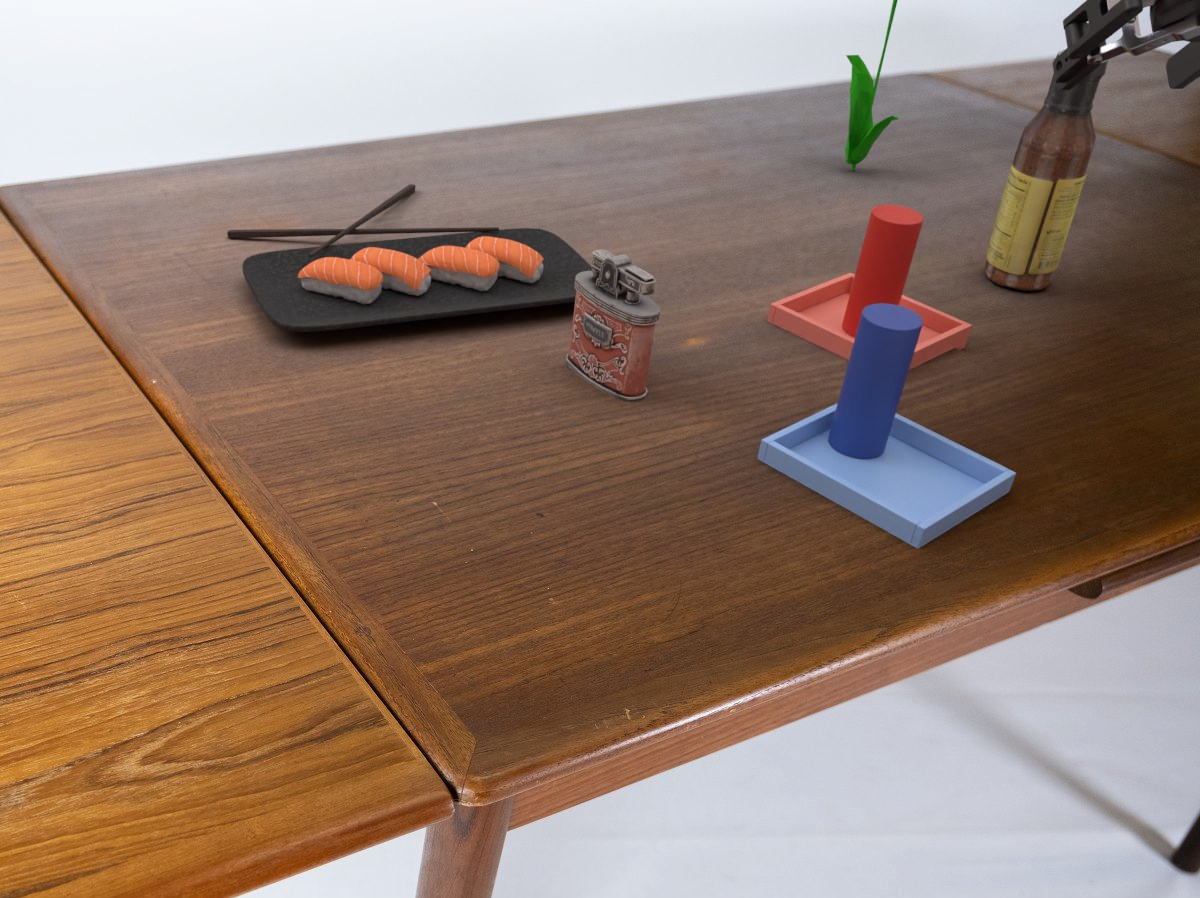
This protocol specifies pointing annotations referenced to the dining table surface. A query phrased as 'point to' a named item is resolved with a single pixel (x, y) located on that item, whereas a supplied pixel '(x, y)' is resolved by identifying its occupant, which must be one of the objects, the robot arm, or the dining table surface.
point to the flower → (864, 107)
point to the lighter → (613, 326)
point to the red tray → (821, 324)
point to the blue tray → (891, 476)
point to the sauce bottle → (1044, 188)
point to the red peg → (883, 261)
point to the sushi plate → (408, 274)
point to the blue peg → (874, 380)
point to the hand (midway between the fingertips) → (1115, 77)
